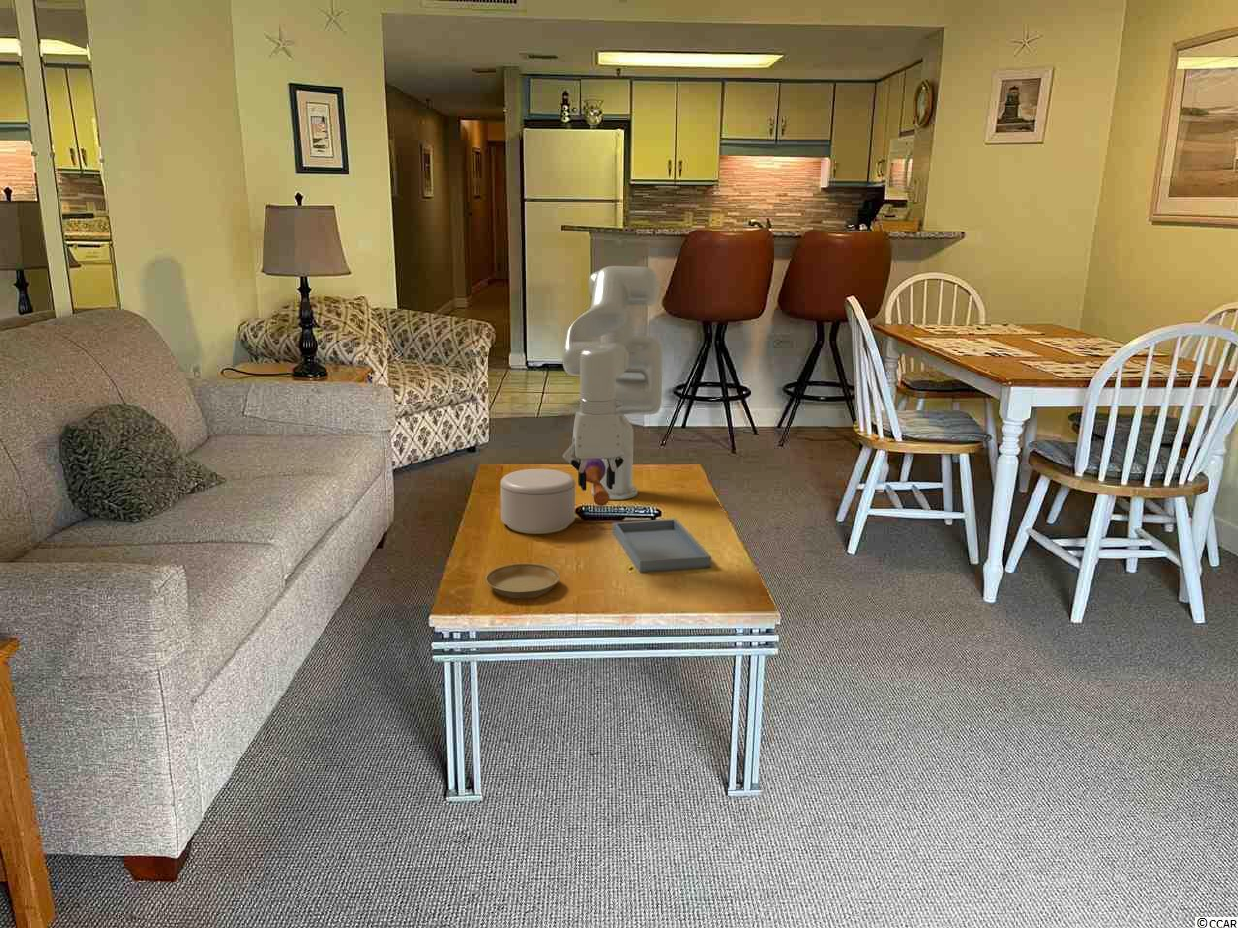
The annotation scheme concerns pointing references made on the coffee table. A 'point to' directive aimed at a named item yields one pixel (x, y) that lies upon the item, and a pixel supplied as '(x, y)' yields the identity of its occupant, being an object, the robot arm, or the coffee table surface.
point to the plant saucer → (522, 580)
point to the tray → (660, 546)
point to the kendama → (597, 480)
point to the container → (537, 500)
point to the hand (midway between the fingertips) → (596, 487)
